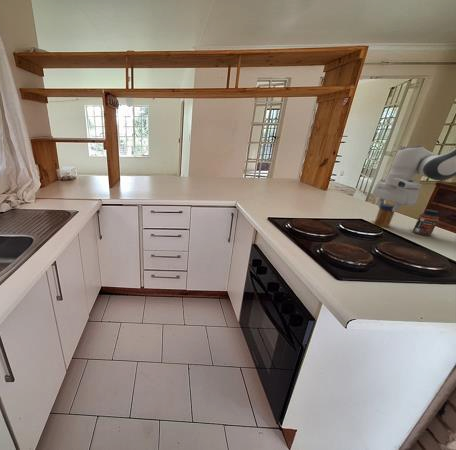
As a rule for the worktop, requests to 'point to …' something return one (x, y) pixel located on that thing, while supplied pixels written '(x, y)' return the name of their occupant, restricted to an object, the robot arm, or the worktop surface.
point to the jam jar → (384, 218)
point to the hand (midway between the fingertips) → (387, 209)
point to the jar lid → (386, 207)
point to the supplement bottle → (426, 223)
